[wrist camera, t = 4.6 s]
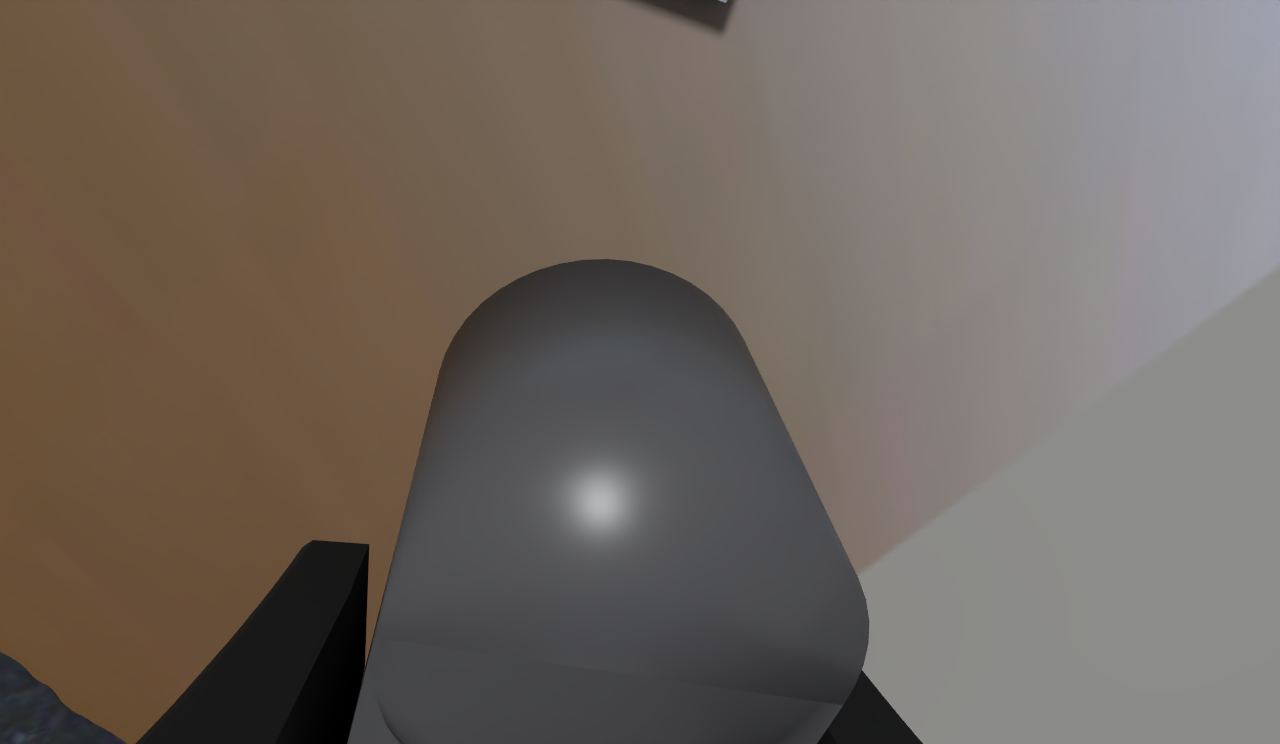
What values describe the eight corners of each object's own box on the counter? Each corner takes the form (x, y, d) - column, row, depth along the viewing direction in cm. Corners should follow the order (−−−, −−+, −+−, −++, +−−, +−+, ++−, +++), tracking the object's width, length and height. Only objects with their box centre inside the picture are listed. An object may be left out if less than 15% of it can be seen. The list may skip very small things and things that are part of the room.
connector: (806, 310, 9) (959, 536, 6) (574, 791, 14) (582, 1083, 10) (477, 216, 8) (428, 421, 5) (339, 767, 13) (261, 1082, 9)
